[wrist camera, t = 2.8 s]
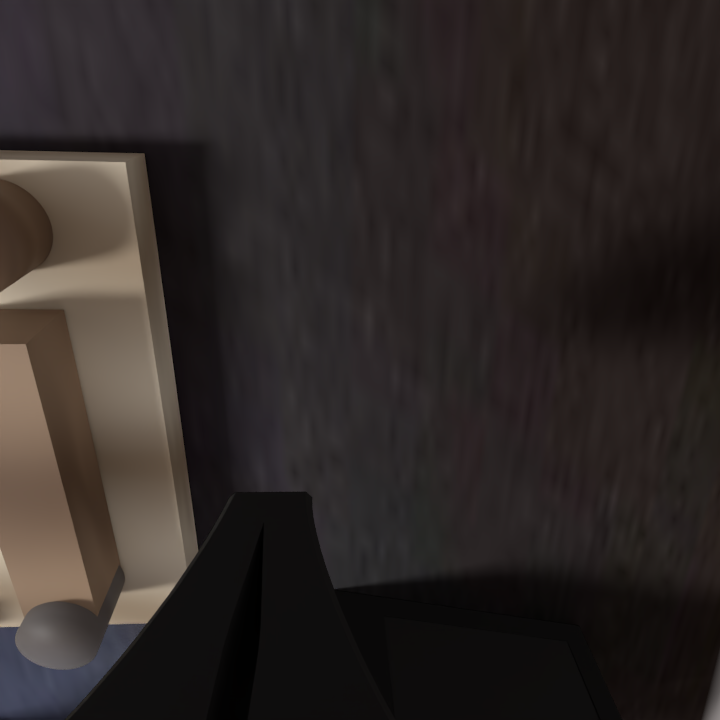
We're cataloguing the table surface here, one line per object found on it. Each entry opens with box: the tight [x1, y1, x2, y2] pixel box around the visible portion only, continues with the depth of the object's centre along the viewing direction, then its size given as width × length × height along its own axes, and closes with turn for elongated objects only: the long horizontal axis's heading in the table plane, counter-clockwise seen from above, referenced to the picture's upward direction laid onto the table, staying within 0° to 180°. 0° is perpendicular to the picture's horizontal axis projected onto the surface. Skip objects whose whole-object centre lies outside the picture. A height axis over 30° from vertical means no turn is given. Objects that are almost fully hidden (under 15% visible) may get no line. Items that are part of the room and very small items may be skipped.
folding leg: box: [0, 309, 125, 670], centre depth 15 cm, size 10×2×2 cm, turn 178°
